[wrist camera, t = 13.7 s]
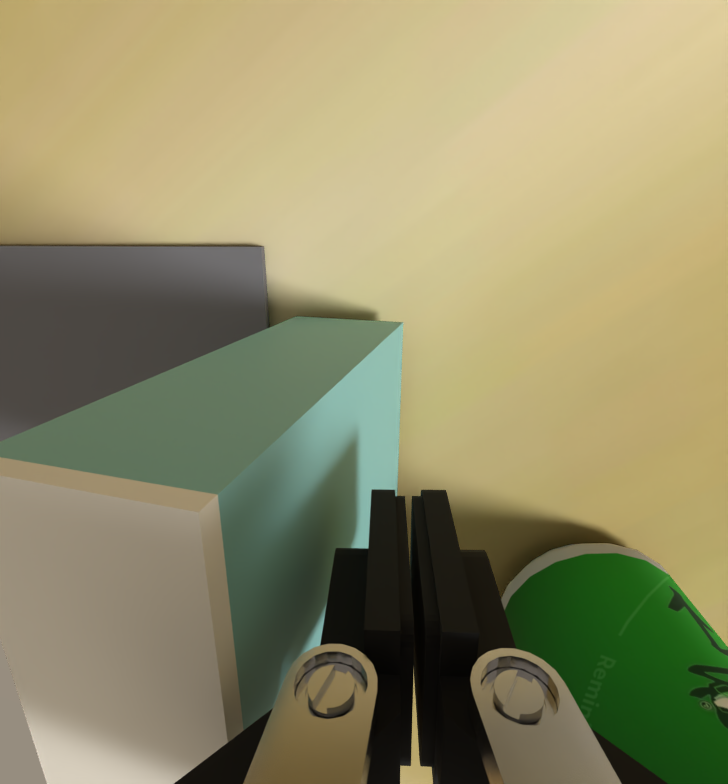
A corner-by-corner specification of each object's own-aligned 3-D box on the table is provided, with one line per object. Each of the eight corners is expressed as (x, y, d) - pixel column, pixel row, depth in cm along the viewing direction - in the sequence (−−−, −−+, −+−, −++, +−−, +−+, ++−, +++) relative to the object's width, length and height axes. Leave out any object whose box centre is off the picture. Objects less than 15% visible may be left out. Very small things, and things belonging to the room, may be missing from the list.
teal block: (296, 316, 17) (-55, 465, 6) (403, 322, 16) (199, 512, 5) (303, 483, 20) (52, 800, 9) (397, 498, 19) (244, 877, 8)
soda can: (501, 670, 23) (616, 1115, 11) (480, 541, 20) (598, 938, 9) (665, 651, 22) (968, 1110, 10) (663, 513, 19) (1050, 914, 8)
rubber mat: (-65, 245, 17) (-75, 245, 17) (263, 246, 17) (261, 246, 16) (16, 526, 21) (9, 532, 21) (282, 534, 21) (281, 540, 20)
